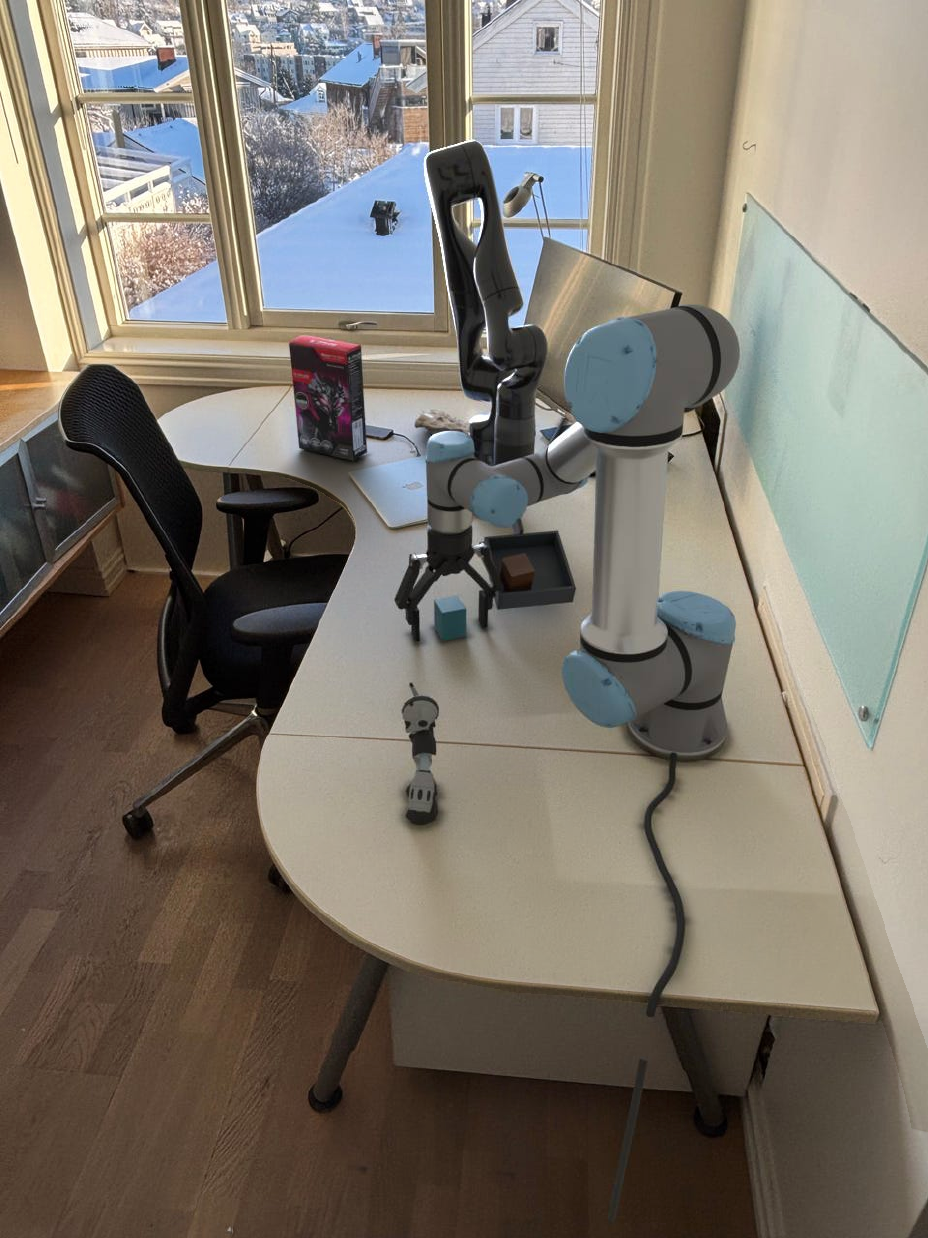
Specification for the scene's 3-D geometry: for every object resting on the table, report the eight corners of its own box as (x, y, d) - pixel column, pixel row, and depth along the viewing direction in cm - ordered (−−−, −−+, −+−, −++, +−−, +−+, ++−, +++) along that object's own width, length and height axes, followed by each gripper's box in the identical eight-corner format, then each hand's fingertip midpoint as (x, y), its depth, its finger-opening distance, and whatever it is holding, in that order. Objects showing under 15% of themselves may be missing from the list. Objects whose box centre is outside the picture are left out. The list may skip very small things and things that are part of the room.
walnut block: (530, 591, 169) (534, 570, 164) (508, 597, 168) (511, 576, 163) (521, 573, 171) (525, 552, 167) (499, 579, 170) (502, 558, 165)
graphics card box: (296, 449, 231) (285, 340, 216) (313, 439, 236) (303, 333, 221) (353, 463, 224) (346, 352, 209) (369, 453, 229) (363, 343, 214)
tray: (572, 602, 169) (577, 585, 165) (497, 609, 167) (499, 592, 163) (543, 506, 183) (546, 489, 179) (473, 512, 181) (475, 494, 177)
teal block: (466, 636, 164) (466, 608, 160) (442, 641, 163) (442, 613, 159) (457, 623, 167) (457, 595, 164) (434, 627, 166) (434, 599, 163)
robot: (441, 856, 121) (440, 742, 110) (404, 858, 121) (400, 743, 110) (437, 755, 138) (436, 646, 127) (405, 756, 137) (401, 647, 126)
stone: (398, 433, 232) (403, 409, 229) (417, 425, 245) (422, 402, 243) (477, 457, 228) (483, 433, 226) (491, 447, 242) (497, 425, 239)
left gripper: (545, 425, 174) (540, 507, 184) (475, 430, 172) (474, 513, 182) (555, 441, 168) (549, 525, 178) (482, 446, 166) (481, 531, 176)
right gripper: (509, 503, 159) (504, 607, 171) (373, 524, 152) (378, 631, 164) (526, 523, 153) (520, 629, 166) (385, 546, 146) (390, 655, 159)
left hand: (511, 519), depth 180 cm, fingers closed on tray, 1 cm apart
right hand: (449, 630), depth 165 cm, fingers open, 12 cm apart
